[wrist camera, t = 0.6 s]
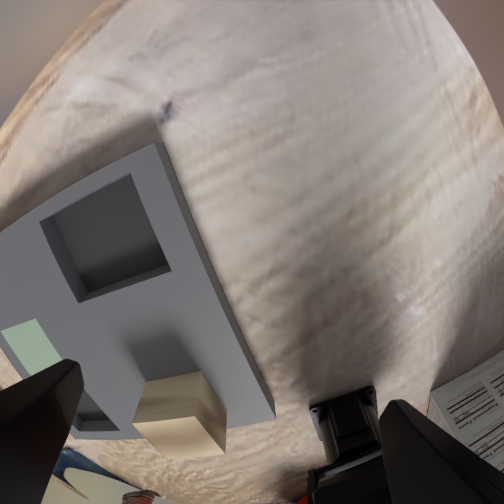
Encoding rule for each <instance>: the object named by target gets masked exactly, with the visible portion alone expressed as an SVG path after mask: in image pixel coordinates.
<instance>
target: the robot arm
mask: <svg viewBox="0 0 504 504" xmlns="http://www.w3.org/2000/svg"><path fill="white" fill-rule="evenodd" d="M83 390H84V379H83V375H82V371H81V366H80V364H79V362H77V361H74V360H71V359H68V358H66V359H63V360H61V361H59V362H57V363H55V364H53V365H51V366H49V367H47V368H45V369H43V370H42V371H40V372H38V373H36V374H34V375H32V376H30V377H28V378H26V379H24V380H22V381H20V382H18V383H16V384H14V385H12V386H10V387H8V388H6V389H4V390H2V391H0V504H41V502H42V499H43V496H44V493H45V491H46V488H47V485H48V483H49V480H50V478H51V475H52V473H53V470H54V468H55V465H56V463H57V460H58V458H59V456H60V453H61V451H62V448H63V446H64V444H65V442H66V439H67V437H68V435H69V432H70V430H71V427H72V424H73V420H74V417H75V414H76V411H77V408H78V405H79V402H80V399H81V396H82V393H83ZM309 411H310V415H311V417H312V420H313V423H314V425H315V428H316V431H317V433H318V436H319V439H320V441H323V445H324V449H325V453H326V458H327V462H328V465H326V466H323V467H320V468H317V469H312V470H309V471H308V488H307V504H504V473H503V472H502V471H500V470H498V469H497V468H495V467H494V466H492V465H491V464H490V463H488V462H487V461H485V460H484V459H483V458H480V456H478V455H477V454H476V453H474V452H473V451H472V450H470V449H469V448H467V447H466V446H465V445H463V444H462V443H461V442H459V441H458V440H457V439H455V438H454V437H453V436H451V435H450V434H449V433H447V432H446V431H445V430H443V429H442V428H441V427H439V426H438V425H437V424H435V423H434V422H433V421H431V420H430V419H429V418H427V417H426V416H425V415H423V414H422V413H421V412H419V411H418V410H417V409H415V408H414V407H413V406H411V405H410V404H409V403H408V402H406V401H405V400H403V399H397V400H391V401H390V402H389V403H388V405H387V406H386V408H385V410H384V411H383V413H382V415H381V416H380V419H378V411H377V399H376V390H375V388H374V386H369V387H366V388H363V389H361V390H358V391H355V392H353V393H350V394H347V395H344V396H341V397H338V398H335V399H332V400H329V401H326V402H323V403H319V404H316V405H313V406H311V407H310V408H309Z"/></svg>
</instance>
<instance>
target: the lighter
mask: <svg viewBox="0 0 504 504" xmlns="http://www.w3.org/2000/svg"><path fill="white" fill-rule="evenodd" d="M154 498H155V496H154V495H153V494H151V493H148V492H145V491H135V492H129V493H126V494H124V495H123V498H122V500H123V503H122V504H152V502H153V501H154Z"/></svg>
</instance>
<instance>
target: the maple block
mask: <svg viewBox="0 0 504 504" xmlns="http://www.w3.org/2000/svg"><path fill="white" fill-rule="evenodd" d="M132 424H133V425H134V427H135V428H136V429H137V430H138V431H139V432H140V433H141V434H142V435H143V436H144V437H145V438H146V439H147V440H148V441H149V442H150V443H151V444H152V445H153V446H154V447H155V448H156V449H157V450H158V451H159V452H160V453H161V454H162V455H163V456H164V457H165V458H166V459H180V458H193V457H203V456H212V455H220V454H225V447H226V426H227V410H226V408H225V407H224V405H223V404H222V402H221V401H220V399H219V397H218V396H217V394H216V393H215V391H214V390H213V388H212V386H211V385H210V383H209V382H208V380H207V378H206V377H205V375H204V373H203V372H202V371H199V372H194V373H189V374H185V375H180V376H175V377H170V378H165V379H159V380H154V381H148V382H146V383H145V386H144V389H143V392H142V395H141V398H140V400H139V403H138V406H137V409H136V412H135V415H134V418H133V421H132Z"/></svg>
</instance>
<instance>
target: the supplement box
mask: <svg viewBox="0 0 504 504" xmlns="http://www.w3.org/2000/svg"><path fill="white" fill-rule="evenodd" d="M430 394H431V397H430V403H429V409H428V414H427V418H429V419H430V420H431V421H433V422H434V423H435V424H437V425H438V426H439V427H441V428H442V429H443V430H445V431H446V432H447V433H449V434H450V435H451V436H453V437H454V438H455V439H457V440H458V441H459V442H461V443H462V444H463V445H465V446H466V447H467V448H469V449H470V450H472V451H473V452H474V453H476V454H477V455H478V456H480V458H483V459H484V460H485V461H487V462H488V463H490V464H491V465H492V466H494V467H495V468H497V469H498V470H500V471H502V472H503V473H504V350H502V351H501V352H499V353H498V354H496V355H495V356H493V357H492V358H490V359H488V360H487V361H485V362H484V363H482V364H480V365H479V366H477V367H475V368H473V369H472V370H470V371H468V372H467V373H465V374H463V375H461V376H459V377H457V378H456V379H454V380H452V381H450V382H448V383H446V384H444V385H442V386H440V387H438V388H436V389H434V390H432V391H431V392H430Z"/></svg>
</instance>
